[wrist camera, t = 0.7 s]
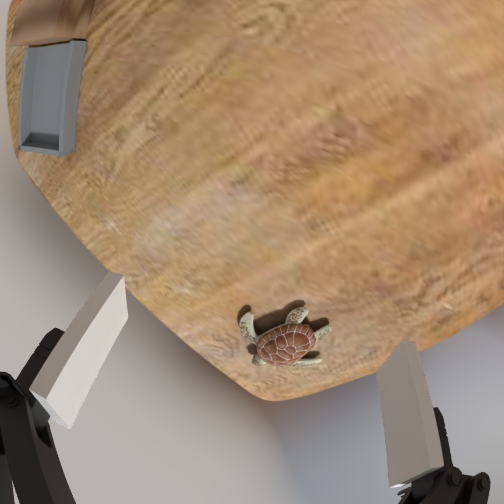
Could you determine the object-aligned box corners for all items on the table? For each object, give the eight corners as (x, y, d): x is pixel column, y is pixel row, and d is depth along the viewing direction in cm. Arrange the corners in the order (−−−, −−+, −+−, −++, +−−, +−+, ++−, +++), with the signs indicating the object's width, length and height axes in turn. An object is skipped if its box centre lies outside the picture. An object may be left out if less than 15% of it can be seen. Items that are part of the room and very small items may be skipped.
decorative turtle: (216, 332, 53) (211, 352, 49) (278, 281, 45) (277, 303, 41) (287, 374, 58) (286, 394, 53) (351, 336, 50) (354, 357, 46)
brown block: (49, 5, 23) (19, 3, 17) (96, -4, 23) (66, -12, 18) (40, 44, 27) (9, 46, 21) (85, 38, 27) (53, 36, 21)
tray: (38, 47, 27) (25, 48, 25) (87, 41, 28) (74, 40, 25) (30, 144, 36) (18, 149, 34) (75, 150, 37) (62, 156, 34)
